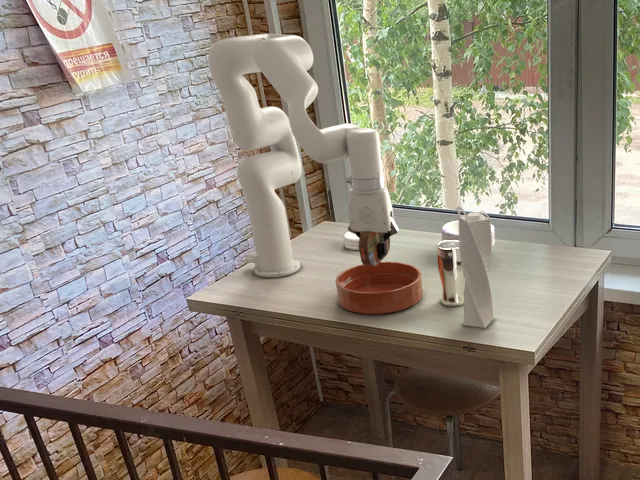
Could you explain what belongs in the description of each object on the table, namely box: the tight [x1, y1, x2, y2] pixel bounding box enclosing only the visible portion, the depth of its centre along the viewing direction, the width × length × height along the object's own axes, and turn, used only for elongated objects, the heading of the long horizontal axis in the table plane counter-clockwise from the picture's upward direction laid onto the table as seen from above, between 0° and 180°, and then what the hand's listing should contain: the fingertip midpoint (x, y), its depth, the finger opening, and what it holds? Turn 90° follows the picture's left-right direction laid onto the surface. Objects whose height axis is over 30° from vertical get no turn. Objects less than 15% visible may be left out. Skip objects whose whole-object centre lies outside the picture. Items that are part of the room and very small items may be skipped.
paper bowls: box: [440, 219, 496, 247], centre depth 228 cm, size 15×15×8 cm
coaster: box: [343, 231, 360, 251], centre depth 237 cm, size 10×10×4 cm
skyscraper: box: [456, 205, 495, 329], centre depth 181 cm, size 8×8×28 cm
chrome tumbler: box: [436, 240, 465, 307], centre depth 195 cm, size 7×7×15 cm
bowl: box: [335, 261, 424, 315], centre depth 200 cm, size 21×21×6 cm
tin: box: [358, 229, 391, 266], centre depth 194 cm, size 15×3×8 cm, turn 168°
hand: (376, 256), depth 196 cm, fingers closed on tin, 2 cm apart
